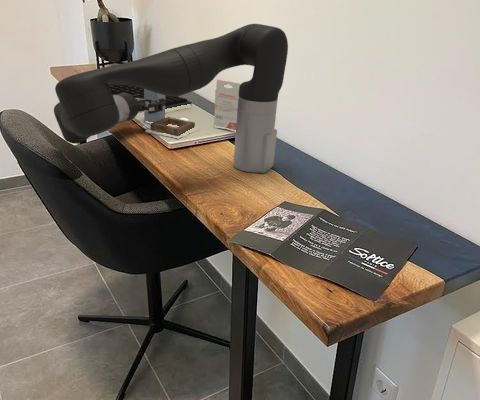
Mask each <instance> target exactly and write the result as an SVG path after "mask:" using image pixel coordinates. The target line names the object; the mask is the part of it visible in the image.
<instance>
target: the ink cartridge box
mask: <svg viewBox="0 0 480 400" xmlns="http://www.w3.org/2000/svg"><path fill="white" fill-rule="evenodd" d="M240 84H241V83H239V82H234V81H229V80H223V79H217V80H216V88H215V94H214V95H215V96H214V97H215V98H214V115H213V126H214V125H216V126H220V127H225V128H229V129H233V130H236V123H237V110H238V97H239V87H240ZM227 86H231V87H227Z"/></svg>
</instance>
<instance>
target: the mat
mask: <svg viewBox="0 0 480 400" xmlns="http://www.w3.org/2000/svg"><path fill="white" fill-rule="evenodd" d="M144 132H145V133H148V134H152V135H157V136H160V135H165V134H163V133H161V132H156V131H152V130H151V128H149V129H146V130H145V131H144ZM158 134H159V135H158ZM166 136H170V137H173V138H172V139H174V138H177V139H176V140H180V139H179V138H180V137H179V136H174V135H167V134H166Z"/></svg>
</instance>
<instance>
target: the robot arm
mask: <svg viewBox="0 0 480 400" xmlns="http://www.w3.org/2000/svg"><path fill="white" fill-rule="evenodd" d="M288 52H289V43H288V37H287V35H286V33H285V32H284V30H283V29H281V28H279V27H277V26H272V25H266V24H260V23H249V24H247V25H243V26H241V27H238V28H236V29H234V30H232V31H230V32H228V33H225V34H222V35H221V36H218V37H214V38H210V39H206V40H205V39H204V40H201V41H196V42H193V43H188V44H184V45H180V46H177V47H173V48H170V49H167V50H164V51H162V52H158V53H156V54H152V55H149V56H145V57H143V58H139V59H136V60H132V61H128V62H124V63H121V64H115V65H110V66H106V67H101V68H97V69H92V70H87V71H83V72H79V73H76V74H72V75H70V76H67V77H65V78H63V79H60V80H59V81H58V82H57V83H56V84H55V87H54V91H55V94H56V97H57V99H58V103H56V104H55V105H54V108H53V114H54V117H55V120H56V122H57V124H58V127H59V129H60V131H61V132H60V133H61V134H62V136H63V139H64V140H65V141H66V142H68V143H70V144H81V143H83V142H84V141H87V140H88V139H90V137H93V136H97V135H99V134H101V133H102V134H103V133H105V132H107V131H109V130H111V129H113V128H114V127H116V126H117V125H118V124H122V123H125V122H128V121H131V120H133V119H135V118H136V117H137V115H138V114H139V113H143V112H148V114H152V113H156V112H160V111H163V106H165V99H163V98H162V99H158V100H150V99H141V94H135V95H130V94H128V93H121V94H117V95H112V93H111V90H110V88H109V85H130V86H135V87H140V88H143V89H146V90H149V91H152V92H155V93H158V94H162V95H166V96H172V97H176V96H178V97H180V96H183V95H187V94H189V93H190V94H191V93H192V92H195V91H197V90H200V89H202V88H204V87H207V85H209V84H210V83H212V81H213V80H214V79H215V78H216V77H217V76H218V75H219V74H220V73H221V72H223V71H226V70H228V69H231V68H236V67H239V66H250V67H251V66H252V67H253V73H252V77H251V78H250V80H248V81H247V80H246V81H243V82H241V83H240V87H239V97H238V110H237V123H236V132H235V138H234V139H235V140H234V150H233V151H234V153H233V163H232V164H233V167H234V168H235V169H237V170H240V171H242V172H247V173H260V174H261V173H262V174H265V173H266V172H268V171H269V170H270V169H272V168H273V167H274V162H275V153H276V144H277V137H278V136H277V135H278V130H277V129H276V128H275V127H276V119H277V118H276V116H277V109H278V98H279V94H280V91H281V89H282V87H283V84H284V77H285V71H286V65H287V59H288V54H289V53H288ZM145 101H147V102H148V106H145ZM151 103H152V104H151Z"/></svg>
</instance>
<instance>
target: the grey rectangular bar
mask: <svg viewBox="0 0 480 400" xmlns="http://www.w3.org/2000/svg"><path fill="white" fill-rule="evenodd" d="M162 98H163V99H165V95H162V94H158V93H155V92H152V91H149V90H146V89H144V99H150V100H158V99H162ZM151 104H152V103H151ZM145 106H148V102H147V101H145ZM143 116H144V117H143V118H144V121H148V122H156V121H159V120H161V119H164V118H166V113H165V106H163V111H160V112H156V113H152V114H148V112H144V114H143ZM144 121H143V122H144Z"/></svg>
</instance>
